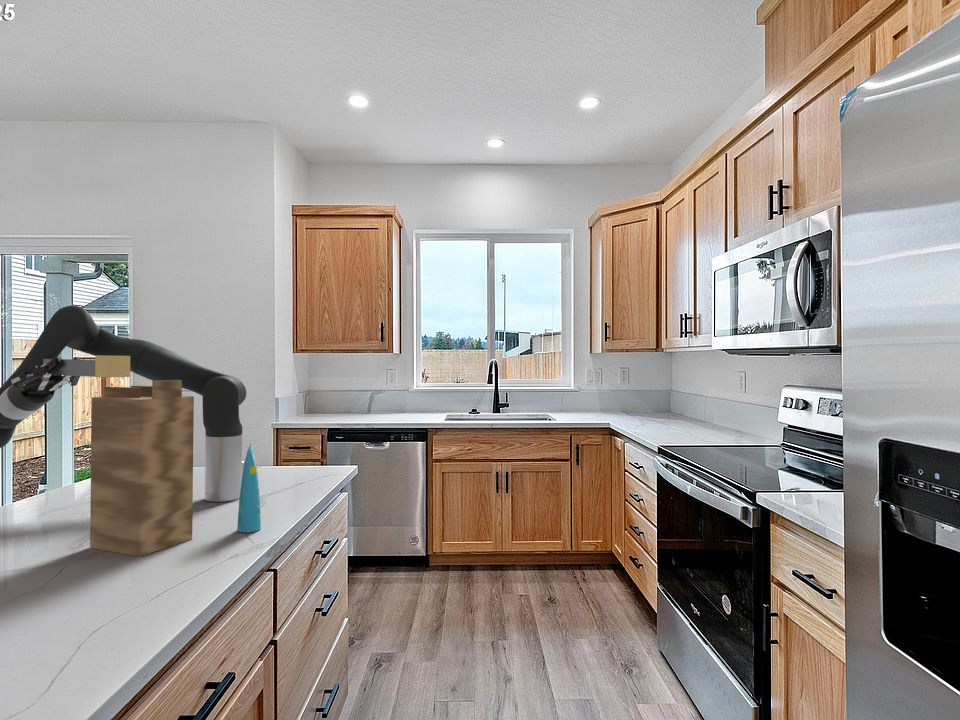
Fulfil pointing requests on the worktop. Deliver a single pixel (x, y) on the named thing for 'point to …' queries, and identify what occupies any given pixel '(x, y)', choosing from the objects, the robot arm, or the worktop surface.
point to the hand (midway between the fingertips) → (69, 360)
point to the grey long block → (95, 367)
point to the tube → (249, 496)
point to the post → (141, 468)
